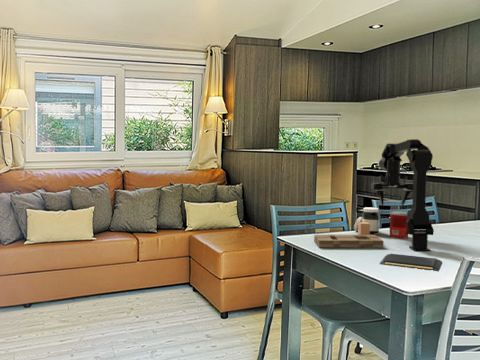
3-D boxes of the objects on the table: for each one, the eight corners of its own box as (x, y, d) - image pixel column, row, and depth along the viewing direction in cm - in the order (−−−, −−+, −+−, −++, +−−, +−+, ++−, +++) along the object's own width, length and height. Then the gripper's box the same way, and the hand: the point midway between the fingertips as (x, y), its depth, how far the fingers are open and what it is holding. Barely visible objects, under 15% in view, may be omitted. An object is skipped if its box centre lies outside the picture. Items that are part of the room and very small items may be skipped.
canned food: (410, 238, 210) (411, 214, 209) (392, 238, 210) (393, 214, 209) (404, 235, 218) (405, 211, 217) (387, 234, 218) (388, 211, 217)
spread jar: (379, 235, 217) (380, 210, 216) (354, 234, 219) (354, 209, 218) (377, 230, 228) (378, 206, 227) (353, 229, 231) (354, 205, 230)
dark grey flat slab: (443, 257, 172) (438, 268, 158) (442, 263, 172) (438, 273, 159) (386, 251, 181) (377, 260, 168) (386, 256, 181) (377, 265, 168)
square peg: (369, 239, 208) (369, 223, 207) (360, 239, 208) (360, 223, 207) (366, 237, 212) (367, 222, 211) (357, 237, 212) (358, 222, 211)
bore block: (383, 248, 192) (383, 240, 192) (319, 248, 191) (319, 240, 191) (374, 241, 204) (374, 234, 203) (314, 241, 203) (314, 234, 203)
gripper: (407, 170, 222) (406, 203, 224) (368, 169, 222) (367, 202, 224) (416, 171, 211) (415, 206, 212) (374, 171, 211) (373, 206, 213)
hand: (392, 205), depth 216 cm, fingers open, 9 cm apart
